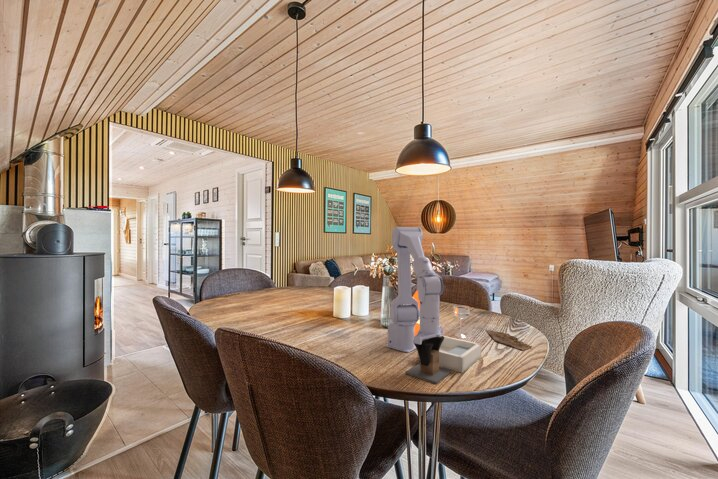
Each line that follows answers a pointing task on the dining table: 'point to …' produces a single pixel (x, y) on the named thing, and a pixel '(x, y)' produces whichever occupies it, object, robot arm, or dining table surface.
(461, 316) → the wineglass
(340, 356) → the dining table surface
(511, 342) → the wooden fragment
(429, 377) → the place mat
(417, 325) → the orange juice
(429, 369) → the walnut block
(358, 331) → the dining table surface
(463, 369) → the box
